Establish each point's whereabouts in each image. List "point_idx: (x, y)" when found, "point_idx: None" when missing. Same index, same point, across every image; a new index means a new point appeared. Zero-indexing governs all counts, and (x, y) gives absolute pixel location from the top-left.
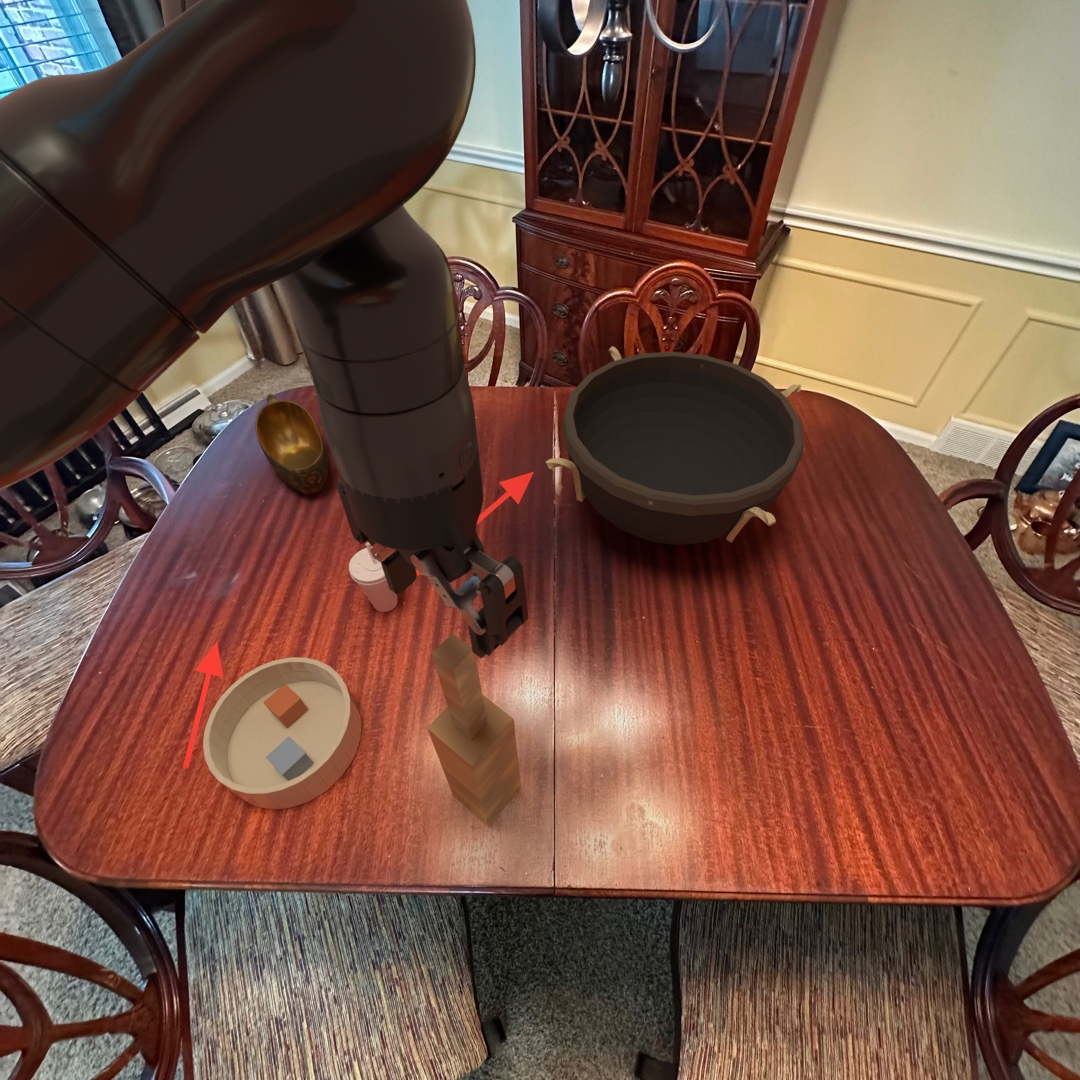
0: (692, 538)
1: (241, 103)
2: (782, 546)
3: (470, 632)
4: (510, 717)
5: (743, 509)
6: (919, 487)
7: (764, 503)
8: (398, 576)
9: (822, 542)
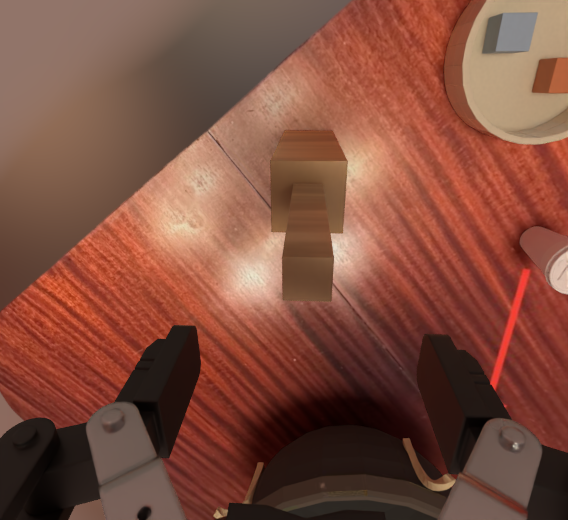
0: (285, 453)
1: None
2: (241, 462)
3: (159, 384)
4: (275, 231)
5: None
6: None
7: None
8: (438, 382)
9: (218, 477)
